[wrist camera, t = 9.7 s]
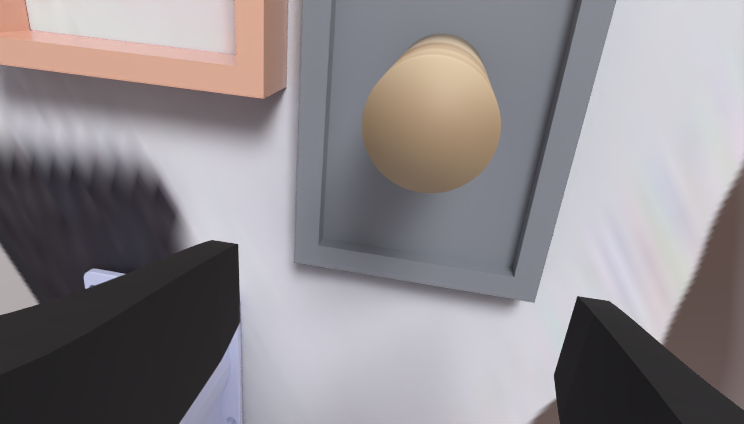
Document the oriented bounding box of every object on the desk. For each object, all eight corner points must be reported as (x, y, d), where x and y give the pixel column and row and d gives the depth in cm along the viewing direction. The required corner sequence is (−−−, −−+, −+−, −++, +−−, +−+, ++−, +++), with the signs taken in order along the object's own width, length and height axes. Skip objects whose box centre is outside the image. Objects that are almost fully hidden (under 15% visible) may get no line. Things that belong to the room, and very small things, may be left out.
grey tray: (529, 283, 21) (534, 302, 20) (304, 246, 22) (294, 262, 21) (649, -174, 15) (667, -192, 13) (322, -194, 16) (309, -212, 14)
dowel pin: (476, 129, 18) (486, 202, 12) (391, 118, 19) (356, 183, 12) (493, 39, 17) (514, 65, 11) (400, 29, 17) (367, 49, 11)
